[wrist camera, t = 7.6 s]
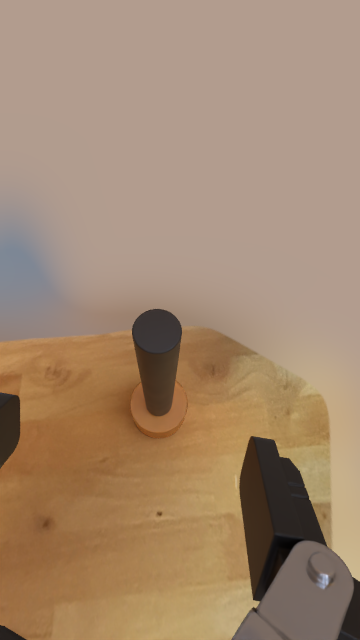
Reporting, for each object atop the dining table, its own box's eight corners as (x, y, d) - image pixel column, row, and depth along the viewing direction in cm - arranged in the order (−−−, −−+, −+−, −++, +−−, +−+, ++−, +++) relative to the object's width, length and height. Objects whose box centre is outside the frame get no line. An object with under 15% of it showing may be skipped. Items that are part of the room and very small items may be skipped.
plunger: (184, 385, 32) (208, 284, 16) (185, 438, 30) (214, 383, 14) (134, 385, 31) (106, 283, 15) (132, 438, 29) (96, 383, 13)
